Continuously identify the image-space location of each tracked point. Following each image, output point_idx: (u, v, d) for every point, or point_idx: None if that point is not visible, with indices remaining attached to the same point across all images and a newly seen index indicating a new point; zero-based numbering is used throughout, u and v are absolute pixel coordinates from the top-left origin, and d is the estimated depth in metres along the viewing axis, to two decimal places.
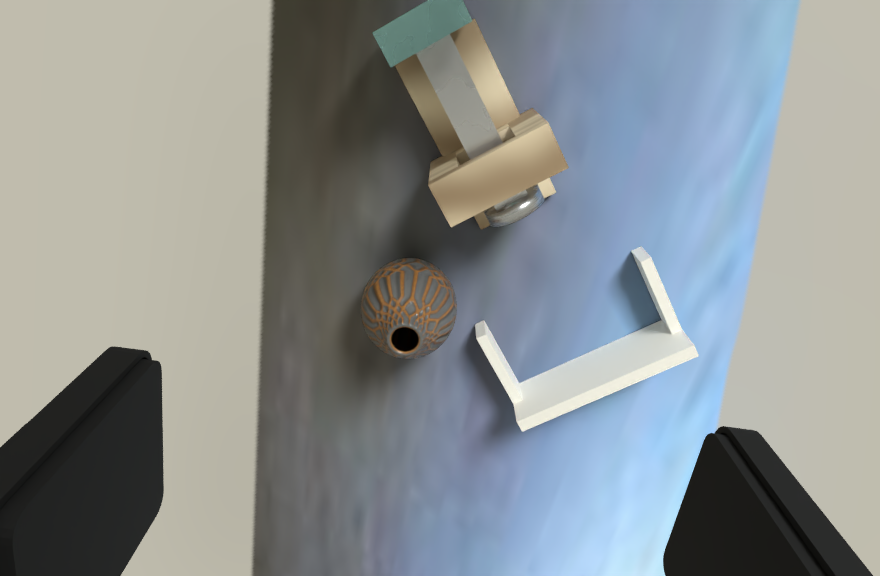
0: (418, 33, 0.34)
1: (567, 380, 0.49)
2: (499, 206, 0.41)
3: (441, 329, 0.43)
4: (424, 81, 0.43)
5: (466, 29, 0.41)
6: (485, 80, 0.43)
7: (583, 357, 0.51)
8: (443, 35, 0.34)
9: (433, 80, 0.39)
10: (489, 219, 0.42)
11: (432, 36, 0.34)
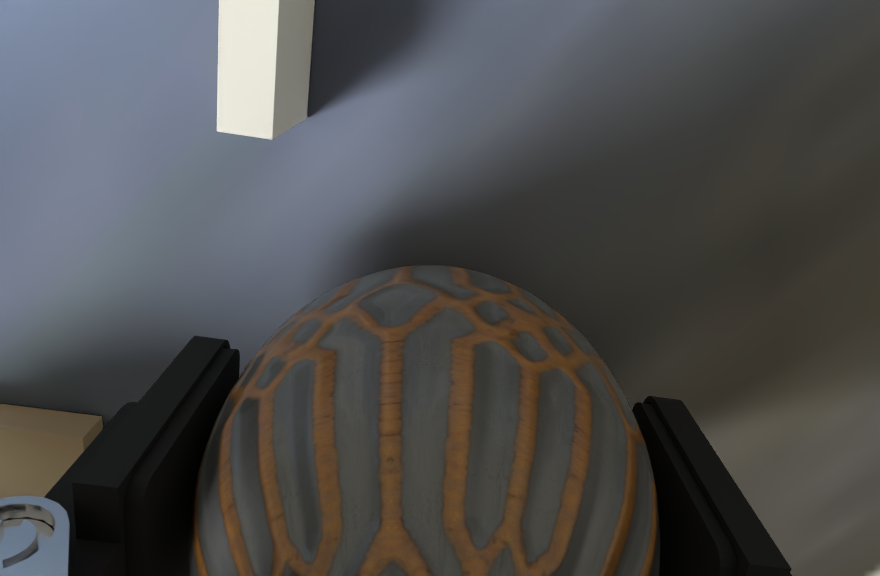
0: None
1: None
2: None
3: (255, 556, 0.07)
4: None
5: None
6: None
7: None
8: None
9: None
10: None
11: None
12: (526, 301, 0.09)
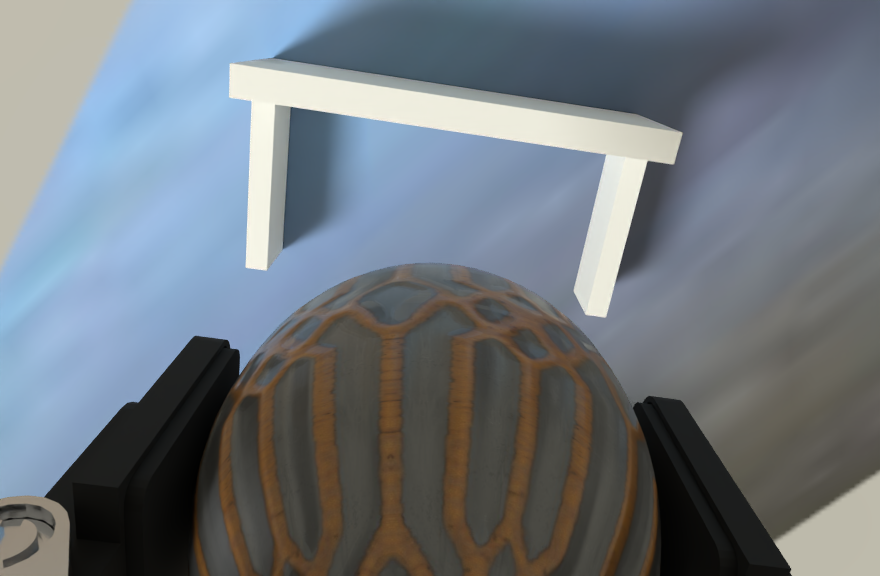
0: None
1: None
2: None
3: (255, 553, 0.07)
4: None
5: None
6: None
7: None
8: None
9: None
10: None
11: None
12: (526, 298, 0.09)
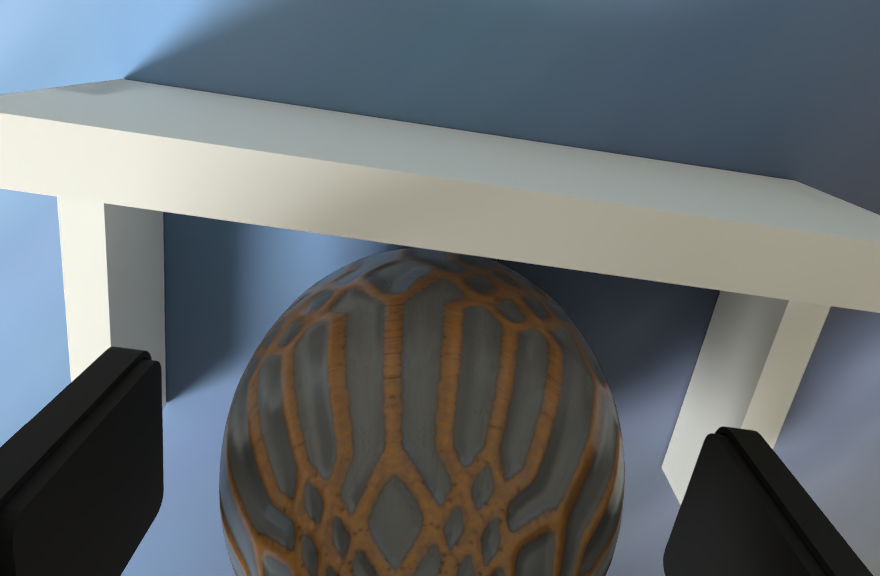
0: None
1: None
2: None
3: (280, 477, 0.08)
4: None
5: None
6: None
7: None
8: None
9: None
10: None
11: None
12: (509, 276, 0.11)
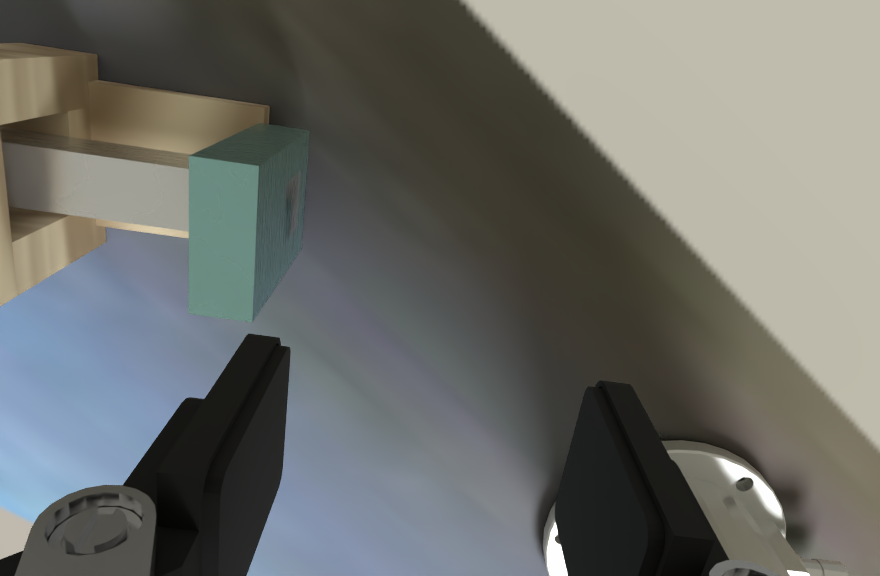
0: (216, 231, 0.19)
1: None
2: None
3: None
4: (216, 132, 0.26)
5: None
6: None
7: None
8: (191, 264, 0.19)
9: (174, 172, 0.22)
10: None
11: (199, 248, 0.19)
12: None
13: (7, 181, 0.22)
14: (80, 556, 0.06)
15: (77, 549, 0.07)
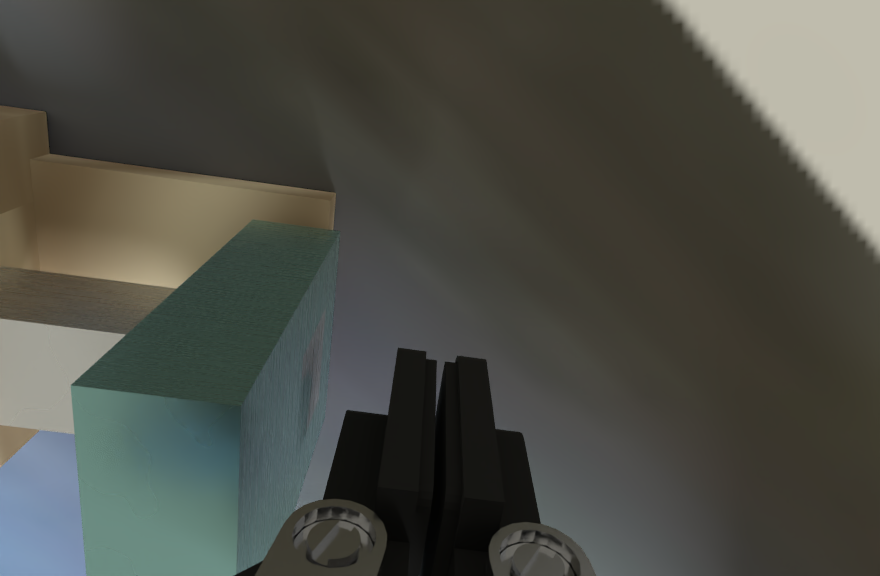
0: (146, 537, 0.08)
1: None
2: None
3: None
4: None
5: None
6: None
7: None
8: None
9: (87, 339, 0.12)
10: None
11: (108, 568, 0.08)
12: None
13: None
14: (314, 565, 0.07)
15: (314, 556, 0.07)
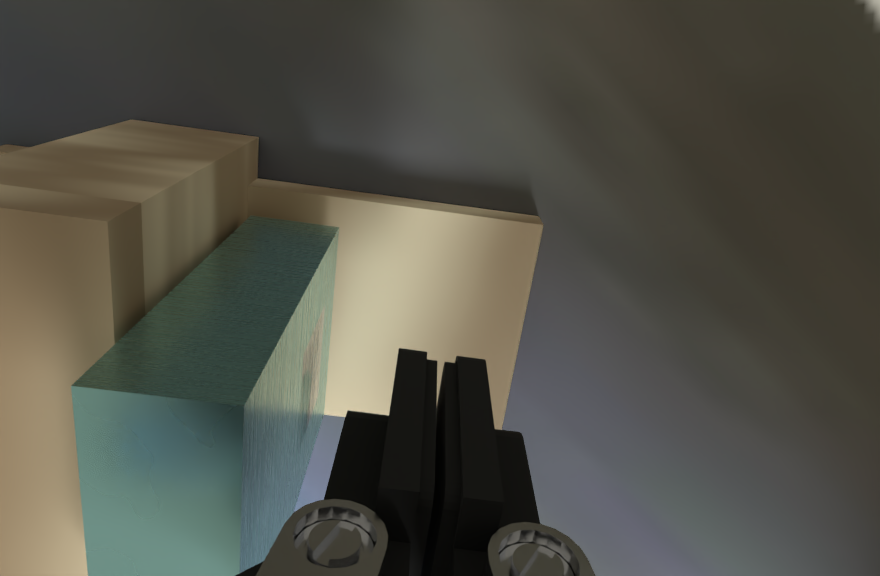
0: (148, 538, 0.08)
1: None
2: None
3: None
4: (455, 263, 0.16)
5: (492, 410, 0.17)
6: (366, 384, 0.17)
7: None
8: None
9: None
10: None
11: (110, 570, 0.08)
12: None
13: None
14: (315, 565, 0.07)
15: (315, 556, 0.07)
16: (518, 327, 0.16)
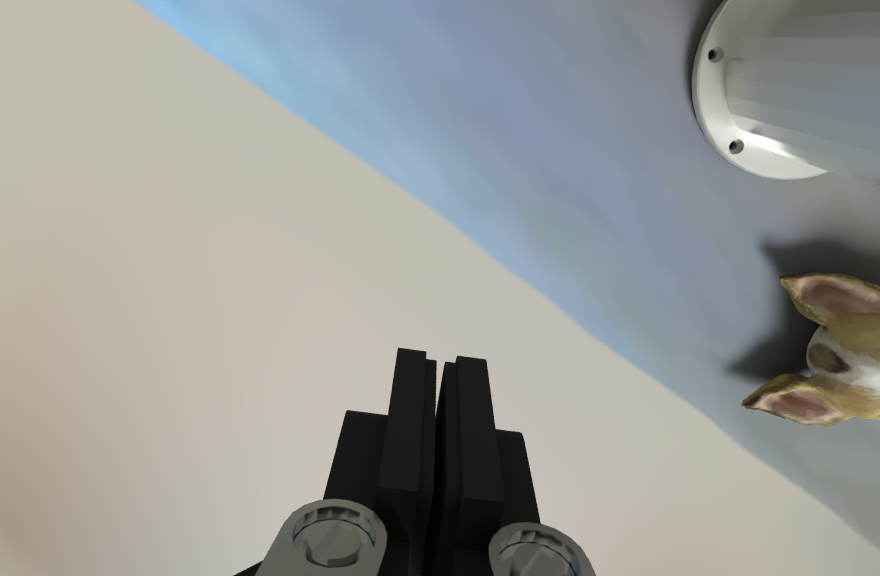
0: None
1: None
2: None
3: None
4: None
5: None
6: None
7: None
8: None
9: None
10: None
11: None
12: None
13: None
14: (314, 565, 0.07)
15: (314, 556, 0.07)
16: None
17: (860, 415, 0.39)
